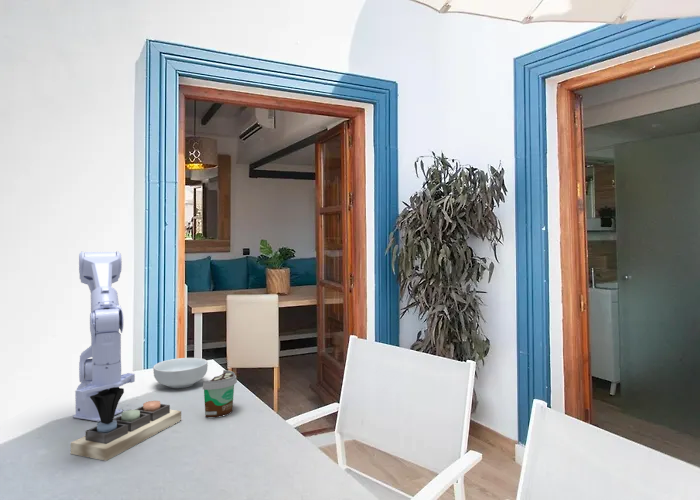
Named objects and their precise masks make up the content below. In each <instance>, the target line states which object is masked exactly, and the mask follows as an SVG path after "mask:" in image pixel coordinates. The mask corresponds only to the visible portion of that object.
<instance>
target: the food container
mask: <svg viewBox="0 0 700 500" xmlns="http://www.w3.org/2000/svg"><path fill="white" fill-rule="evenodd" d="M237 382H238V380H237V375H236V373H235V372H234V371H232V370H228V369H223V372H222V374H220V375H217V376H214V377H213V378H211V380H206V381H203V383H202V390H203V397H204V415H205V416H204V418H205V417H215V418H220V417H219V416H222V417H224V416H223V415H225V416H228V415H229V413H230V412H231V413H232V412H233V406H234V393H235V385H236V383H237ZM231 413H230V414H231ZM227 414H228V415H227Z"/></svg>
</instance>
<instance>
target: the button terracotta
mask: <svg viewBox="0 0 700 500" xmlns="http://www.w3.org/2000/svg"><path fill="white" fill-rule="evenodd" d="M160 404H161V401H160V400H150V401H145V402H144V403H143V405H142V406H143V411H150V412H154V411H156V410H158V409H160Z"/></svg>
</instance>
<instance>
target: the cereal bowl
mask: <svg viewBox="0 0 700 500" xmlns="http://www.w3.org/2000/svg"><path fill="white" fill-rule="evenodd" d="M208 366H209V365H208V361H207V360H206V359H205V358H202V357H201V358H200V357H179V358H172V359H167V360H163V361H160V362H157V363H155V364H154V365H153V377H154V378H155V381H157V383H159V384H160V385H162V386H167V387H168V388H171V389H184V388H189V387H192V386H194V385H195V383H197V382H199V381H201V380H202V379H204V377H205V376H206V374H207V372H208Z"/></svg>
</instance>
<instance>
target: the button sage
mask: <svg viewBox="0 0 700 500" xmlns="http://www.w3.org/2000/svg"><path fill="white" fill-rule="evenodd" d="M121 415H122V421H128V422H132V421H134V420H136V419H139V418H140V411H139V410H135V409H127V410H124V411H123V412H121Z"/></svg>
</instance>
